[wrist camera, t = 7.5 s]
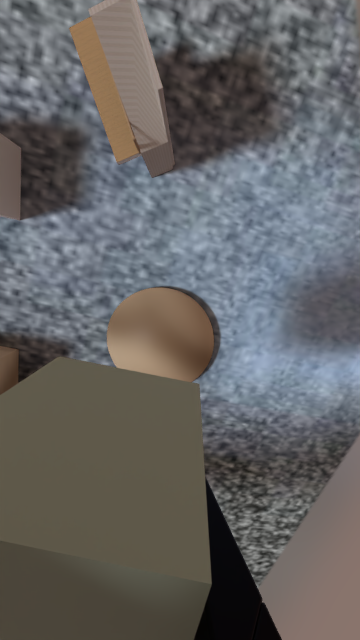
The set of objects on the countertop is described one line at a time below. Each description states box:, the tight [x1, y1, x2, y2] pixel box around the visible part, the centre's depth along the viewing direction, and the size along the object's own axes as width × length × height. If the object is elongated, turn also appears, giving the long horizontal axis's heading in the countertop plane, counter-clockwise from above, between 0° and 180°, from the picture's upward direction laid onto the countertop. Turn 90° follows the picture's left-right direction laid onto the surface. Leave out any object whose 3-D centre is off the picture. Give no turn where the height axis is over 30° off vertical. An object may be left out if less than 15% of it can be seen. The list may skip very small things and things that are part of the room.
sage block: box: [0, 356, 212, 640], centre depth 6 cm, size 5×5×5 cm
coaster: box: [107, 287, 214, 382], centre depth 19 cm, size 9×9×1 cm
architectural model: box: [69, 0, 175, 178], centre depth 12 cm, size 3×7×7 cm, turn 19°
